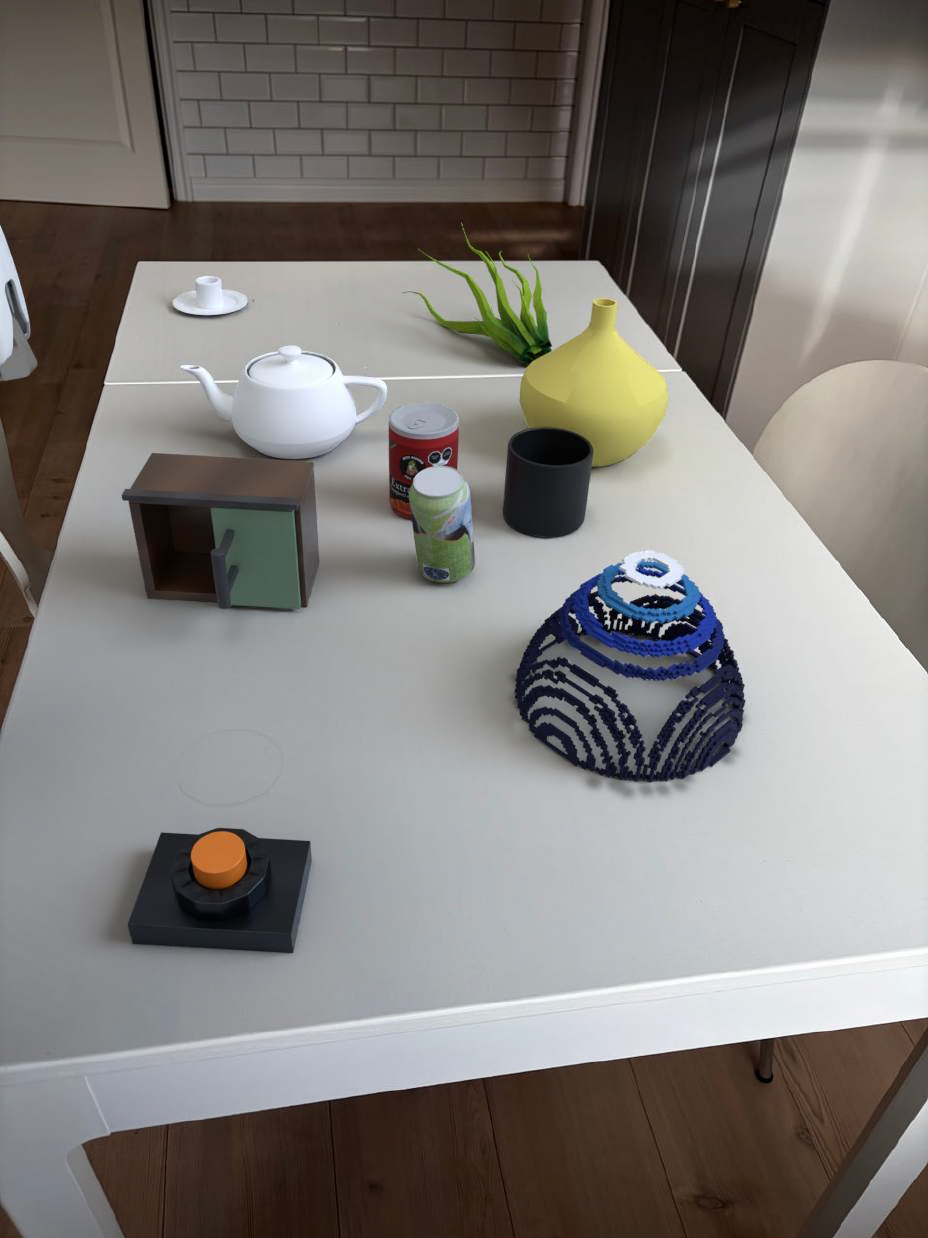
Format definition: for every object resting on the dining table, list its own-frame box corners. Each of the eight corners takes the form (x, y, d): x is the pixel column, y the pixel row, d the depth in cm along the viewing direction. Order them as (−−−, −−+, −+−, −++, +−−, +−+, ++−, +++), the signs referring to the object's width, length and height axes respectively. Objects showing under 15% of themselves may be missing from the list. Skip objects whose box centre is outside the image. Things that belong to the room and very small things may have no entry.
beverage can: (484, 567, 105) (491, 467, 98) (448, 601, 100) (452, 499, 93) (434, 549, 108) (437, 450, 100) (397, 581, 103) (396, 479, 95)
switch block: (132, 944, 67) (122, 908, 65) (164, 851, 74) (157, 815, 71) (293, 954, 67) (289, 918, 65) (312, 860, 74) (309, 824, 71)
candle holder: (174, 293, 166) (171, 267, 163) (247, 292, 168) (245, 266, 165) (171, 320, 156) (167, 293, 154) (248, 318, 158) (246, 291, 156)
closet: (142, 606, 97) (121, 494, 90) (168, 553, 105) (150, 446, 97) (304, 615, 97) (296, 504, 90) (319, 562, 105) (313, 455, 97)
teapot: (389, 414, 133) (388, 326, 126) (386, 471, 121) (385, 376, 113) (200, 411, 132) (188, 321, 124) (178, 468, 119) (164, 372, 112)
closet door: (210, 638, 93) (195, 539, 86) (224, 601, 98) (211, 504, 91) (290, 642, 93) (282, 543, 86) (301, 605, 98) (294, 508, 91)
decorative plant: (505, 300, 170) (511, 211, 161) (553, 370, 147) (564, 270, 138) (401, 303, 166) (402, 212, 158) (434, 375, 143) (437, 273, 135)
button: (187, 888, 67) (184, 871, 66) (201, 846, 70) (198, 829, 69) (241, 891, 67) (238, 874, 66) (252, 849, 70) (249, 832, 69)
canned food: (379, 514, 113) (378, 426, 106) (403, 482, 119) (403, 397, 112) (443, 527, 111) (446, 439, 104) (464, 493, 117) (468, 408, 111)
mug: (579, 486, 120) (588, 418, 114) (587, 540, 110) (597, 468, 105) (501, 483, 120) (506, 414, 114) (503, 536, 110) (508, 464, 105)
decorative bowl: (784, 705, 90) (826, 574, 81) (650, 819, 78) (682, 682, 69) (612, 605, 101) (632, 481, 92) (472, 692, 89) (480, 560, 80)
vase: (669, 486, 121) (698, 334, 109) (519, 481, 120) (532, 328, 108) (646, 419, 135) (669, 279, 124) (512, 414, 135) (523, 273, 123)
